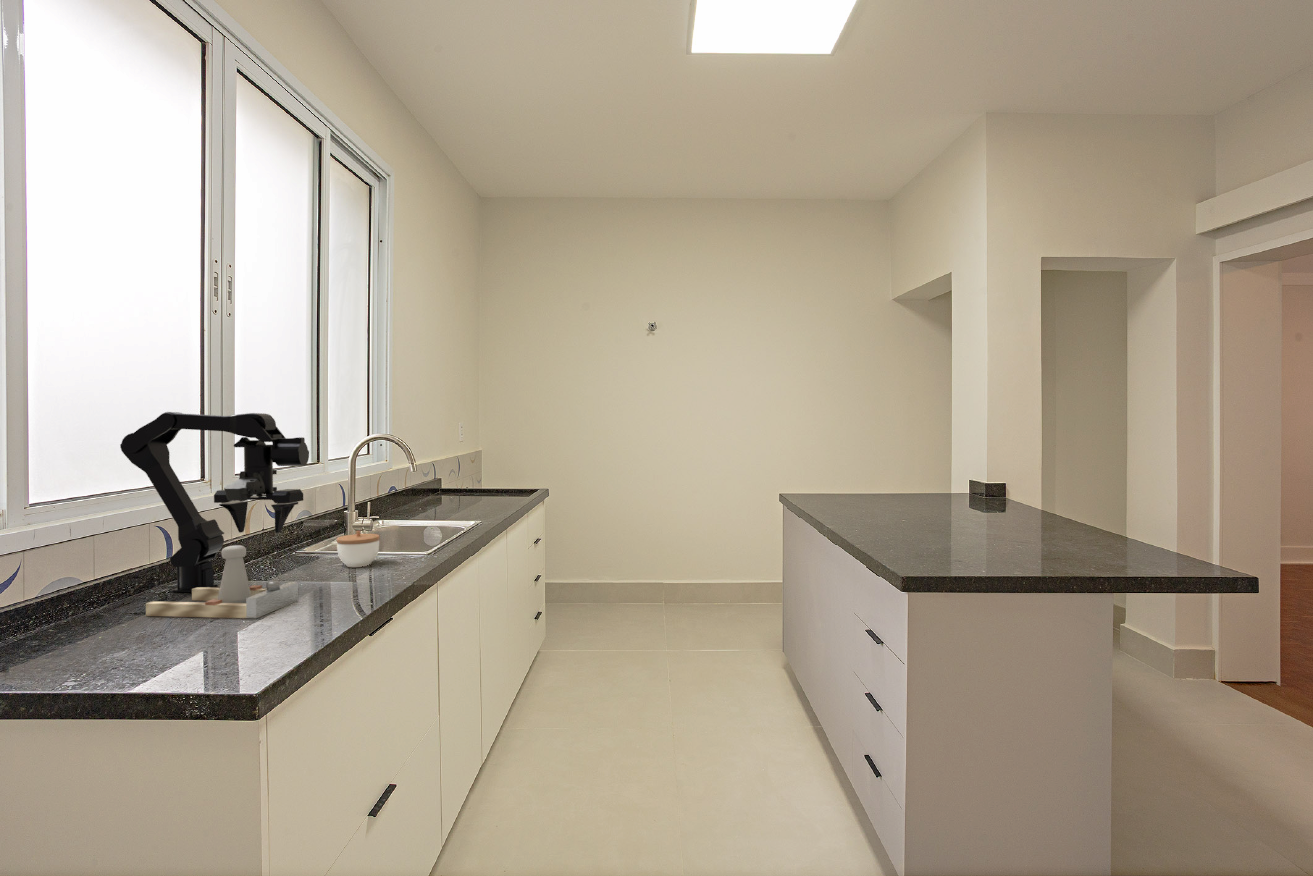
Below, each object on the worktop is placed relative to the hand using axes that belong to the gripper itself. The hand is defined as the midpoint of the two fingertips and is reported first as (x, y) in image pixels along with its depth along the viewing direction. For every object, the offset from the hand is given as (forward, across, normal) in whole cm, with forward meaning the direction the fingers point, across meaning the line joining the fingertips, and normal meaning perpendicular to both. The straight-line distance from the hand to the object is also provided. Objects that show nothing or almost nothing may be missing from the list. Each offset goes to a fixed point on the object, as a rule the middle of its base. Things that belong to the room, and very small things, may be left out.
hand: (259, 532), depth 152 cm
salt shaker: (+13, +7, -17) cm, 23 cm away
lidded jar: (+13, +10, +25) cm, 30 cm away
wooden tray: (+13, +4, -17) cm, 22 cm away
